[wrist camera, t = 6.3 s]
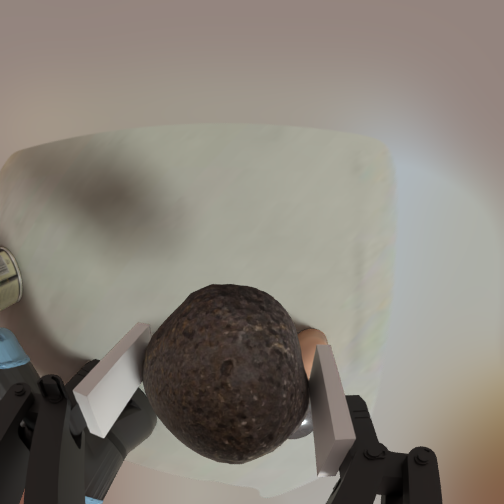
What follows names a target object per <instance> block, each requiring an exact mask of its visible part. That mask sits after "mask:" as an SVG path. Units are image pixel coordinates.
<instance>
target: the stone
mask: <svg viewBox="0 0 504 504" xmlns="http://www.w3.org/2000/svg"><path fill="white" fill-rule="evenodd" d="M142 378H143V385H144V389H145V393H146V395H147V398H148V400H149V402H150V405H151V406H152V408H153V410H154V412H155V413H156V415H157V416H158V418H159V419H160V420H161V421H162V423H163V424H164V425H165V426H166V428H167V429H168V430H169V431H170V432H171V433H172V434H173V435H174V436H175V437H176V438H177V439H178V440H180V441H181V442H182V443H183V444H184V445H186V446H187V447H189V448H190V449H192V450H193V451H195V452H196V453H198V454H200V455H202V456H204V457H207V458H209V459H212V460H215V461H217V462H222V463H229V464H244V463H246V462H249V461H252V460H254V459H257V458H259V457H261V456H263V455H266V454H268V453H270V452H273V451H274V450H275V449H276V448H277V447H279V446H281V445H282V444H283V443H284V441H286V440H287V439H288V438H289V437H290V436H291V435H292V434H293V433H295V432H296V431H297V430H298V428H299V427H300V426H301V424H302V423H303V422H304V420H305V418H306V416H307V413H308V409H309V405H310V395H309V380H308V377H307V374H306V371H305V368H304V364H303V360H302V354H301V347H300V343H299V339H298V335H297V331H296V328H295V325H294V323H293V321H292V319H291V317H290V316H289V314H288V312H287V311H286V310H285V309H284V308H283V306H282V305H281V304H280V303H279V302H278V301H277V300H275V299H274V297H272V296H271V295H269V294H267V293H266V292H263V291H260V290H258V289H257V288H253V287H249V286H240V285H234V284H224V285H219V284H211V285H209V286H206V287H204V288H202V289H199V290H197V291H195V292H193V293H191V294H190V295H189V296H188V297H187V299H186V300H185V301H184V302H183V303H182V304H181V305H180V306H179V307H178V308H177V309H176V310H175V311H174V312H173V313H172V314H171V315H170V316H169V317H168V318H167V319H166V320H165V322H164V323H163V324H162V325H161V326H160V327H159V329H158V330H157V331H156V332H155V334H154V335H153V336H152V338H151V340H150V342H149V344H148V345H147V347H146V349H145V359H144V363H143V371H142Z"/></svg>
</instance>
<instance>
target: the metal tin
mask: <svg viewBox="0 0 504 504" xmlns="http://www.w3.org/2000/svg"><path fill="white" fill-rule="evenodd" d="M312 431H313V423H312V413H311V404H310V405H309V409H308V413H307V416H306V418H305V420H304V422H303V423H302V424H301V426H300V427H299V428H298V430H297V431H296V432H295V433H293V434H292V435H291V436H290V437H289V438H288V439H298V438H302V437H304V436H307V435H308V434H310V433H311V432H312Z"/></svg>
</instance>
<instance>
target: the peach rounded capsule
mask: <svg viewBox="0 0 504 504" xmlns="http://www.w3.org/2000/svg"><path fill="white" fill-rule="evenodd" d="M297 335H298V339H299V343H300V347H301V354H302V360H303V364H304V368H305V371H306V374H307V377H308V380H309V377H310V373H311V369H312V364H313V359H314V355H315V350H316V345H317V344H319V345H328V342H327V338H326V336H325V334H324V333H323V332H321V331H320V330H317V329H306V330H303V331H301V332H300V333H298V334H297Z"/></svg>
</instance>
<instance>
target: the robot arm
mask: <svg viewBox="0 0 504 504" xmlns="http://www.w3.org/2000/svg"><path fill="white" fill-rule="evenodd" d="M150 340H151V332H150V325H149V324H144V323H139V322H138V323H137V324H136V325H135V326H134V327H133V328H132V329H131V330H130V331H129V332H128V333H127V334H126V335H125V336H124V337H123V338H122V339H121V340H120V341H119V342H118V343H117V344H116V345H115V346H114V347H113V348H112V349H111V350H110V351H109V353H108V354H107V355H106V356H105V357H104V358H103V359H102V360H101V361H100V360H97V359H95V360H93V361H91V362H89V363H87V364H86V365H85V366H84V367H83V368H82V370H80V371H79V372H78V373H77V375H75V376H74V377H73V378H72V379H71V380H70V381H69V382H68V383H67V384H66V385H65V386H64V384H63V381H62V379H61V378H60V377H59V376H57V375H45V376H43V377H41V378H40V376H39V375H38V373H37V372H36V370H35V368H34V367H33V365H32V363H31V362H30V358H29V356H28V355H26V354H25V352H24V350H23V349H22V347H21V345H20V344H19V342H18V340H17V338H16V337H15V335H14V334H13V333H12V332H11V331H10V330H9V329H7V328H0V504H19V503H20V500H21V497H22V495H23V492H24V489H25V493H24V504H102V503H103V499H104V497H105V496H106V494H107V492H108V490H109V488H110V486H111V484H112V482H113V480H114V478H115V476H116V474H117V472H118V470H119V469H120V467H121V465H122V463H123V461H124V459H125V457H126V456H127V454H128V453H129V452H130V451H132V450H133V449H134V448H135V447H137V446H138V445H139V444H140V443H142V442H143V441H144V440H145V439H147V438H148V437H149V436H150V435H151V433H152V431H153V429H154V427H155V426H156V423H157V416H156V413H155V412H154V410H153V408H152V406H151V405H150V402H149V400H148V398H147V397H146V396H145V394H144V393H143V392H142V391H141V390H140V389H139V388H138V387H139V385H140V384H141V382H142V381H143V378H142V371H143V363H144V359H145V349H146V347H147V345H148V344H149V342H150ZM309 395H310V404H311V413H312V423H313V433H314V443H315V454H316V466H317V477H323V476H336V474H337V472H338V471H339V472H340V479H339V480H338V482H337V483H336V485H335V487H334V488H333V489H334V490H333V492H332V494H331V495H330V497H329V499H328V501H327V503H326V504H373V502H374V500H375V497H376V494H379V495H381V504H442V494H441V485H440V477H439V470H438V463H437V457H436V455H435V453H434V452H433V451H432V450H431V449H429V448H427V447H421V446H420V447H415V448H414V449H412V450H411V451H410V452H409V454H404V453H395V452H391V451H388V449H387V448H386V447H385V446H384V445H383V444H381V443H379V441H378V439H377V436H376V433H375V429H374V426H373V424H372V420H371V418H370V414H369V412H368V408H367V405H366V402H365V401H364V400H363V399H362V398H361V397H360V396H359V395H345V394H344V390H343V387H342V383H341V380H340V376H339V372H338V369H337V365H336V362H335V359H334V355H333V352H332V348H331V345H319V344H317V345H316V350H315V355H314V359H313V364H312V369H311V373H310V377H309Z"/></svg>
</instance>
